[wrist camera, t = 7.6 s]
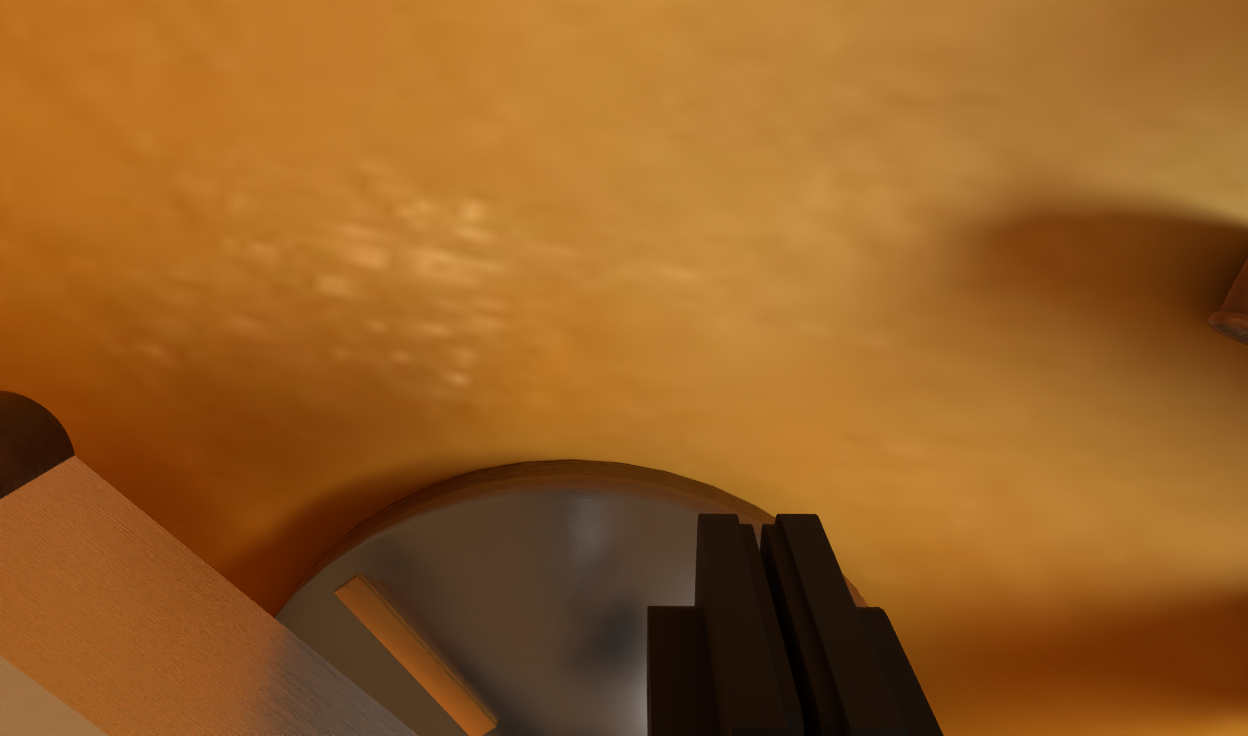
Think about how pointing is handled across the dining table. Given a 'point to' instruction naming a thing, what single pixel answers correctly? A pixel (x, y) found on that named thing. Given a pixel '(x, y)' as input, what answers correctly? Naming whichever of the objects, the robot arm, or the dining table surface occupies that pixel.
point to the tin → (1234, 310)
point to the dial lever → (137, 618)
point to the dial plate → (512, 596)
